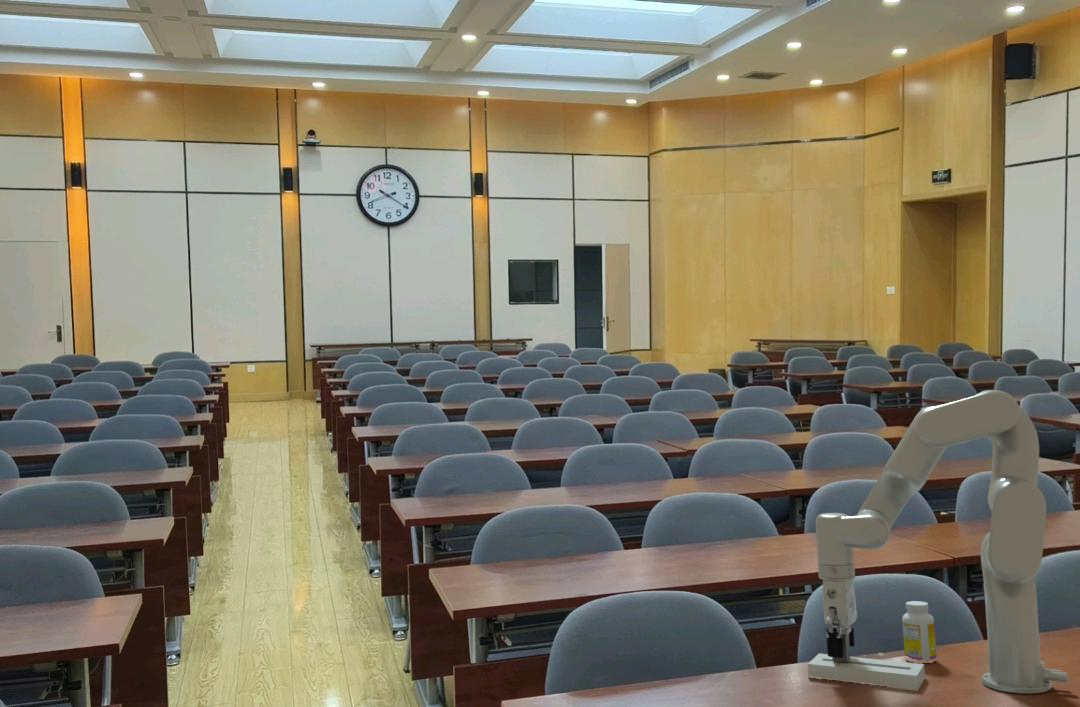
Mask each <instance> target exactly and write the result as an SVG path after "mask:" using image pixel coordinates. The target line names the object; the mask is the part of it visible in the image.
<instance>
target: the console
mask: <svg viewBox="0 0 1080 707" xmlns="http://www.w3.org/2000/svg"><path fill="white" fill-rule="evenodd" d="M807 671H808V677H809V676H813V677H821V678H829V679H838V680H845V681H855V682H864V683H872V684H878V685H884V686H890V687H894V688H893V689H899V690H906V691H907V690H909V691H914V692H915V691H917V692H918V691H919V690H920V688H921V686H922V685H923V683H924V681H925V680H924V678H925V679H926V674H925V673H926V672H925V671H926V670H925V664H917V663H911V662H908V661H907V662H905V661H896V660H895V661H894V660H886V659H885V660H884V659H878V658H877V659H876V658H866V657H855V656H850V660H849V661H848V662H847V663H845V662H836V661H833V658H832V657H829V656H828V653H818V654H817V655H815V657H814V658H812V659H811V660H810V661H809V662H808V663H807ZM923 680H924V681H923ZM921 684H922V685H921Z"/></svg>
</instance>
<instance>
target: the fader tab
mask: <svg viewBox="0 0 1080 707" xmlns="http://www.w3.org/2000/svg"><path fill="white" fill-rule="evenodd" d="M851 628H852V627H851V626H849V627H848V628H845V627H844V626H842V633H841V638H843V651H844V657H843V658H837V657H832V658H833V661H836V662H845V663H847V662H848V661H849V660H850V657H851V650H850V649H851V648H850V647H851V646H849V633H850V632H851ZM836 629H837V632H838V628H836Z"/></svg>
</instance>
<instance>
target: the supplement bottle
mask: <svg viewBox="0 0 1080 707" xmlns="http://www.w3.org/2000/svg"><path fill="white" fill-rule="evenodd" d="M905 609H906V610H907V611H906V612H905V613H904V614H903V616H902V620H901V621H902V632H903V634H902V635H903V647H904V649H903V650H904V656H905V655H906V656H908V657H910V658H912V659H917V660H926V661H928V660H934V659H936V658H937V656H938V654H937V645H936V644H937V642H936V641H937V640H936V632H935V631H936V630H935V619H934V617H933V615H931V614H930V613H929V611H928V610H929V603H928V602H926V601H920V600H919V601H918V600H911V601H907V602H905ZM937 659H938V658H937Z"/></svg>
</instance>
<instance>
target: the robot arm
mask: <svg viewBox="0 0 1080 707" xmlns="http://www.w3.org/2000/svg"><path fill="white" fill-rule="evenodd" d="M987 437H990V439H991V443H992V460H991V461H992V464H991V472H990V481H989V487H988V494H987V503H988V507H989V509H990V511H991V519H990V530H989V532H988V533H987V534H986V535H985V536H984V538H982V541H981V544H980V562H981V569H982V570H981V571H982V577H983V578H982V580H983V589H984V604H985V619H986V633H987V635H986V636H987V646H988V648H987V649H988V650H987V651H988V662H989V671H988V672H986V673H984V674H983V675H982V676H981V682H982V683H983V685H984V686H986V687H988V688H991V689H992V690H993V689H994V690H996V691H1001V692H1006V693H1013V694H1021V695H1022V694H1023V695H1025V694H1026V695H1032V694H1034V695H1035V694H1043V693H1046V692H1048V691H1050V690H1051V689H1052V681H1053V682H1057V683H1058V682H1059V683H1068V682H1069V680H1068V678H1069V677H1068V672H1064V671H1062V670H1060V669H1049V668H1048V667H1047V666H1045V662H1044V661H1043V660H1042V659H1041V658H1042V657H1041V655H1042V654H1041V644H1040V643H1041V642H1040V641H1041V640H1040V629H1039V628H1040V627H1039V613H1038V598H1037V586H1036V579H1035V577H1036V576H1037V574H1038V572H1039V570H1040V568H1041V565H1042V561H1043V552H1044V543H1045V532H1046V519H1047V504H1046V499H1045V495H1044V494H1043V493H1042V491H1041V490H1040V488H1039V487H1038V484H1039V483H1038V481H1039V480H1038V478H1039V466H1040V465H1039V462H1040V461H1039V459H1040V443H1039V442H1040V441H1039V436H1038V432H1037V429H1036V426H1035V424H1034V423H1033V421H1032V419H1031V417H1030V416H1029V415H1028V413H1027V412H1026V411H1025V410H1024V408H1022V407H1021V406H1020V405H1019V404H1018V401H1017V399H1016V398H1014V397H1013V395H1011V394H1009V393H1008V392H1006V391H1003V390H999V389H997V390H996V389H994V390H993V389H988V390H982V391H980V392H978V393H977V394H975V395H974V396H973V395H972V396H970V397H967V398H962V399H959V400H956V401H952V402H947V403H944V404H939V405H934V406H933V405H931V406H926V407H924V408H922V409H921V410H919V411H918V413H917V414H916V415H915V417H914V418H913V420H912V422H911V423H910V424H909V426H908V428H907V430H906V431H905V433H904V435H903V436H902V438H901V439H900V441H899V443H898V445H897V446H896V448H895V449H894V451H893V452H892V454H891V455H890V457H889V459H888V460H887V462H886V464H885V466H884V467H883V469H882V471H881V473H880V476H879V477H878V479H877V481H876V482H875V484H874V486H873V488H872V489H871V490H870V492H869V493H868V496H867V497H866V498H865V500H864V502H863V504H862V505H861V507H860V509H859V510H858V512H857V514H856V515H853V516H850V515H848V514H846V513H843V512H842V513H841V512H823V513H821V514H818V515H817V516H816V517H815V537H816V539H815V540H816V551H817V552H816V553H817V566H818V567H817V569H818V578H819V579H820V580H822V603H823V606H822V607H823V619H824V624H825V625H826V629H825V630H826V635H825V636H826V645H827V646H826V649H827V654H828V656H829V657H837V658H843V657H844V651H843V638H841V633H842V626H844V627H845V628H848V627H849V626H851V632H850V633H849V646H850V647H852V648H853V647H854V646H855V634H854V633H855V631H854V623H855V621H857V620H858V619H857V618H858V613H857V612H858V610H857V602H856V592H855V585H854V580H855V579H856V571H855V557H854V556H855V554H854V553H855V552H854V549H861V550H867V551H875V550H879V549H881V548H883V547H884V546H886V545H887V544H888V542H889V541H890V540H889V539H890V536H891V528H892V526H893V525H894V524H895V522H896V520H897V518H898V516H899V515H900V514H901V512H902V510H903V509H904V507H905V506H906V505H907V503H908V502H909V501H910V500H911V499H912V497H913V496H914V495H916V494H917V493H918V492H920V490H921V489H922V487H923V486H924V485H925V484H926V483H927V481H928V479H929V477H930V476H931V474H932V473H933V471H934V469H935V468H936V466H937V464H938V463H939V461H940V460H941V458H942V457H943V454H945V452H946V450H947V449H948V447H951V446H957V445H960V444H961V445H962V444H964V443H969V442H972V441H975V440H980V439H983V438H987ZM836 628H838V632H837V629H836Z"/></svg>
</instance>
